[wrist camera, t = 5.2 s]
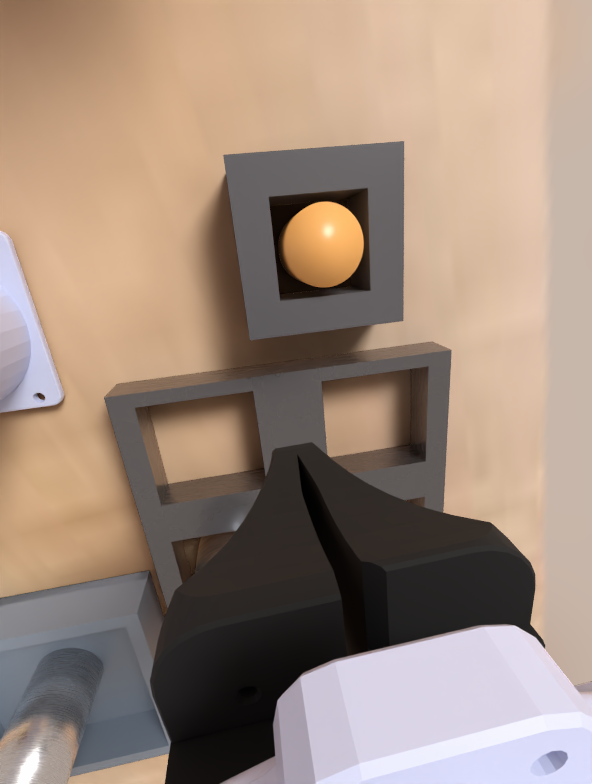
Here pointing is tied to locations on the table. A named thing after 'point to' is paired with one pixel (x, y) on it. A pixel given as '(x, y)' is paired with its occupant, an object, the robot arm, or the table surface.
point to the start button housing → (315, 184)
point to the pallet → (275, 442)
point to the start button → (321, 245)
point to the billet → (50, 719)
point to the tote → (107, 641)
